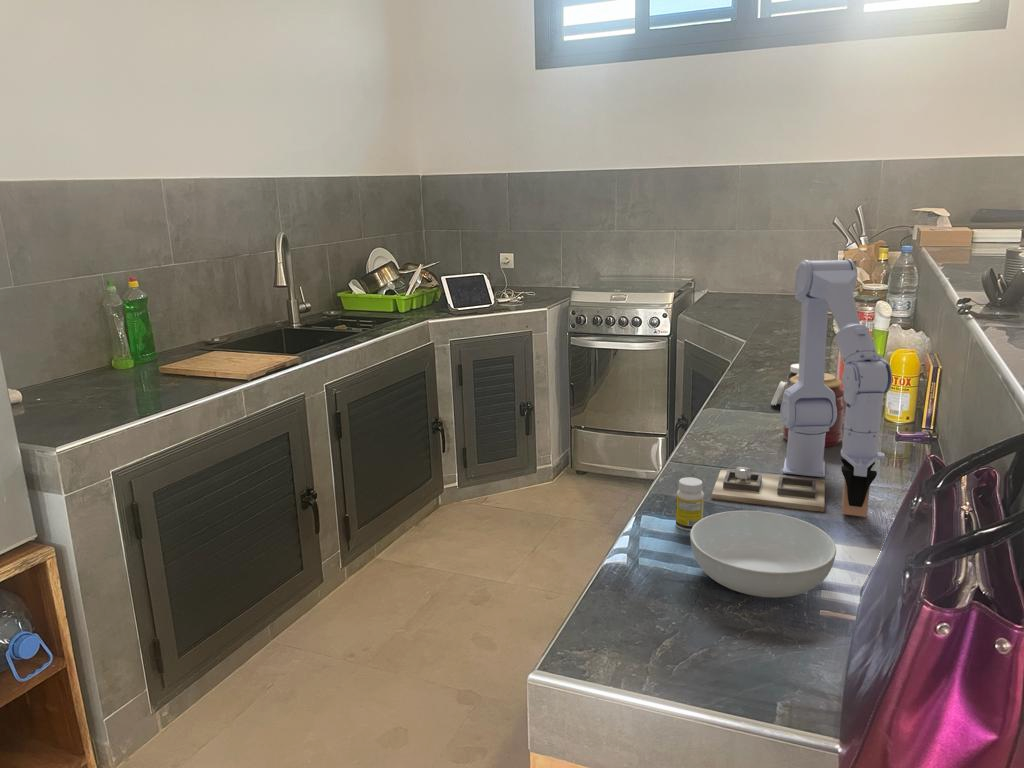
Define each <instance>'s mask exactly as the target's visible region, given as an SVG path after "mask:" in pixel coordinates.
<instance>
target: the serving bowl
mask: <svg viewBox="0 0 1024 768" xmlns="http://www.w3.org/2000/svg"><path fill="white" fill-rule="evenodd" d="M689 540H690V546H691V551H692V554H693V556H694V559H695V561H696V563H697V565H698V566H699V567H700V568H701V569H702V571H703V572H704V573H705V574H706V575H707V576H708V577H709V578H711V579H712V580H713V581H715V582H717V583H718V584H719V585H721V586H724V587H726V588H728V589H730V590H733V591H736V592H738V593H741V594H745V595H750V596H753V597H754V596H755V597H761V598H787V597H793V596H797V595H801V594H805V593H807V592H809V591H810V590H813V589H815V588H816V587H818V586H819V585H820V584H821V583H822V582H823V581H825V579H826V578H827V577H828V576H829V574H830V573H831V571H832V568H833V565H834V564H835V561H836V555H837V546H836V543H835V542H834V540H833V538H832V537H831V536H830V535H829V534H828V533H827V532H825V531H824V530H823V529H821V528H819V527H818V526H816V525H814V524H813V523H810V522H807V521H805V520H803V519H800V518H796V517H793V516H790V515H785V514H780V513H776V512H769V511H768V512H767V511H761V510H729V511H723V512H718V513H713V514H711V515H707V516H705V517H703V519H701V520H699V521H698V522H697V523H696V524H695V525H694V526H693V527H692V529H691V531H689Z"/></svg>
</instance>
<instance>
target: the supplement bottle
mask: <svg viewBox="0 0 1024 768" xmlns="http://www.w3.org/2000/svg"><path fill="white" fill-rule="evenodd" d="M675 503H676V505H675V525H676V528H678V529H680V530H683V531H687V532H691V529H692V527H693V526H694V525H695V524H696V523H697V522H698V521H699V520H701V519H703V518H704V516H705V515H704V511H705V510H704V509H705V493H704V492H703V481H702V480H701V479H700V478H698V477H697V478H696V477H691V476H689V477H688V476H686V477H681V478H680V479H679V481H678V490H677V491H676V500H675Z"/></svg>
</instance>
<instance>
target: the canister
mask: <svg viewBox="0 0 1024 768" xmlns="http://www.w3.org/2000/svg"><path fill="white" fill-rule="evenodd" d="M798 377H799V373H798V374H797V375H795V376H793V377H791V378H790V382H791V385H789V386H787V387H786V386H785V387H784V391H785V390H786V389H788V388H789V387H791V386H792V385H793V384H795V383H796V382H798ZM824 384H825V385H826V386H827V387H829V388H830V389H831V390H832V391H833V392H834V393H835V401H836V407H837V418H836V421H835V423H834V425H833V426H832V427H829V431H827V432H826V434H825V446H824V448H828V447H829V448H830V447H834V446H837V445H838V444H840V443H841V439H842V438H843V437H842V436H843V435H842V434H843V431H842V428H843V427H842V426H843V425H842V424H843V415H844V414H843V413H844V409H845V406H844V403H843V398H844V388H841V386H843V383H842V379H839V378H838V377H837V376H835V374H832V373H829V372H828V373H826V372H825V373H824ZM821 398H822V397H821ZM788 429H789V428H786V427H785V425H784V424H783V425H782V431H781V432H782V437H783V439H784V440H786V441H787V442H788Z"/></svg>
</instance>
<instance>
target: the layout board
mask: <svg viewBox="0 0 1024 768" xmlns="http://www.w3.org/2000/svg"><path fill="white" fill-rule="evenodd" d="M825 485H826V482H825V480H821V479H814V478H803V477H794V476H785V475H784V476H783V475H776V474H775V475H774V474H768V473H767V474H765V473H758V472H756V473H755V472H751V484H745V483H736V482H735V470H730V469H729V470H728V469H720V471H719V473H718V477H717V478H716V481H715V484H714V487H713V490H712V492H711V499H712V500H713V499H714V500H720V501H727V502H728V501H730V502H738V503H745V504H755V505H764V506H771V507H779V508H787V509H795V510H806V511H813V512H819V511H820V512H821V513H825V498H826V497H825V493H826V492H825V487H826V486H825Z"/></svg>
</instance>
